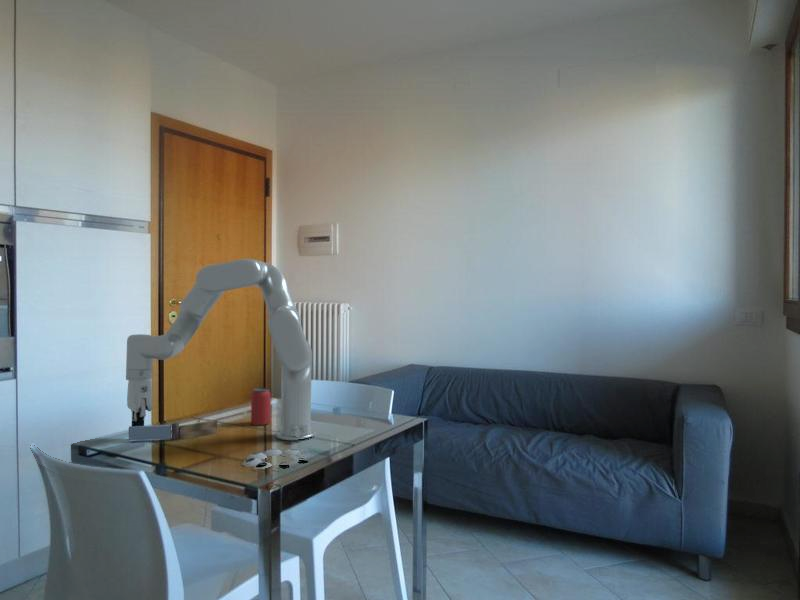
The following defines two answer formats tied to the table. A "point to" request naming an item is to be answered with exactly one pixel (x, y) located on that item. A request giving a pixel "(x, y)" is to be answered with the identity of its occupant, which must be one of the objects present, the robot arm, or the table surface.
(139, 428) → the hinged leaf
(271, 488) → the table surface
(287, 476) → the table surface
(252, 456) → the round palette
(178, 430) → the hinge frame
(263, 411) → the beer can
